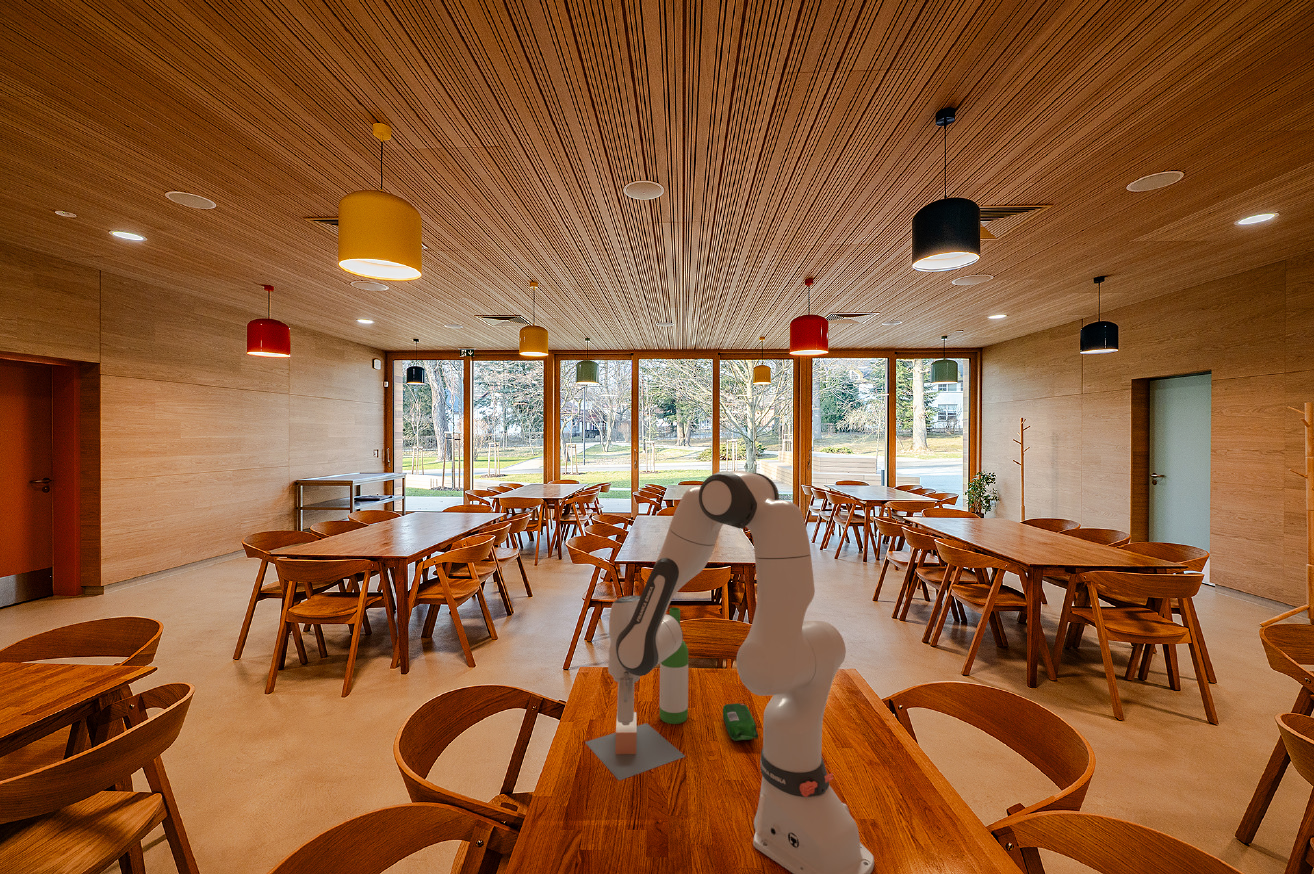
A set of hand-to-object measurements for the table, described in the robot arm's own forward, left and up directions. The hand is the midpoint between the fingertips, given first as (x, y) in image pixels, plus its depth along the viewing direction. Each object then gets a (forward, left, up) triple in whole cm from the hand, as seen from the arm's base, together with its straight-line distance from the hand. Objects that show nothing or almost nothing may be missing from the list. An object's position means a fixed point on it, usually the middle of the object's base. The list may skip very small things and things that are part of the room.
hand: (625, 722), depth 128 cm
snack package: (-5, -31, -8) cm, 33 cm away
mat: (+1, -3, -8) cm, 9 cm away
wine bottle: (+9, -20, -8) cm, 23 cm away
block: (0, 0, -5) cm, 5 cm away
